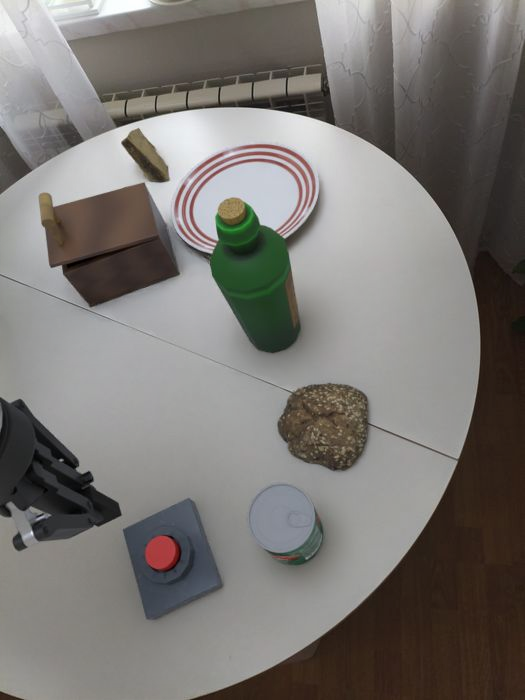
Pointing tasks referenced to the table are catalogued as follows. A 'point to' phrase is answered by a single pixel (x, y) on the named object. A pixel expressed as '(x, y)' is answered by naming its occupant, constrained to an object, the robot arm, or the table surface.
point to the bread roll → (325, 424)
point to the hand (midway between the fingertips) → (108, 514)
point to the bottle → (255, 276)
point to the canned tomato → (286, 524)
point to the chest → (124, 267)
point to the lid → (97, 224)
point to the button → (162, 553)
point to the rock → (145, 156)
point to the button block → (191, 568)
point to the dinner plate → (246, 190)
